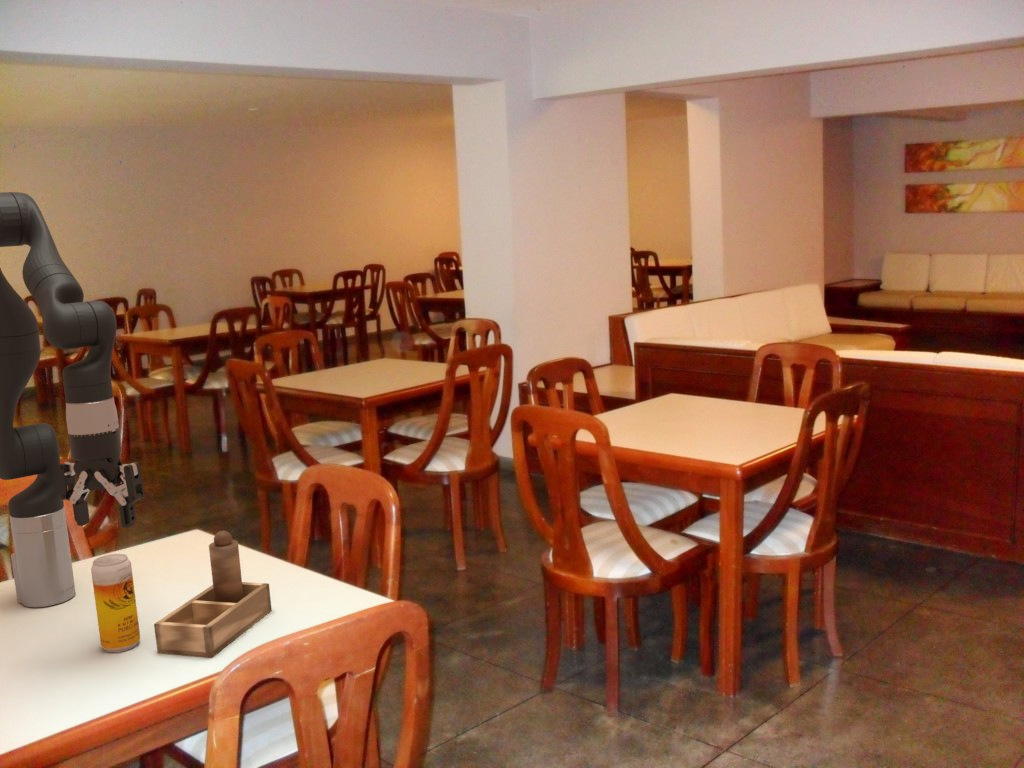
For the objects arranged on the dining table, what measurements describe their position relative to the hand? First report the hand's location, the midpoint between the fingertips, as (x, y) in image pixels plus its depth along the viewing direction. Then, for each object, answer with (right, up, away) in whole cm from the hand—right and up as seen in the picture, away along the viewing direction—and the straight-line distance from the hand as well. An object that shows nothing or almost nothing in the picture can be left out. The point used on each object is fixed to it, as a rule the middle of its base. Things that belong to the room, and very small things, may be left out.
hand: (105, 525), depth 161 cm
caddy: (+16, -19, +7) cm, 26 cm away
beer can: (+1, -21, +4) cm, 21 cm away
